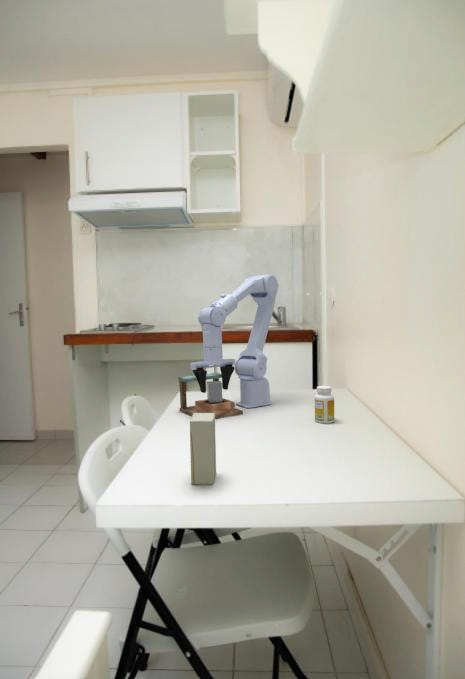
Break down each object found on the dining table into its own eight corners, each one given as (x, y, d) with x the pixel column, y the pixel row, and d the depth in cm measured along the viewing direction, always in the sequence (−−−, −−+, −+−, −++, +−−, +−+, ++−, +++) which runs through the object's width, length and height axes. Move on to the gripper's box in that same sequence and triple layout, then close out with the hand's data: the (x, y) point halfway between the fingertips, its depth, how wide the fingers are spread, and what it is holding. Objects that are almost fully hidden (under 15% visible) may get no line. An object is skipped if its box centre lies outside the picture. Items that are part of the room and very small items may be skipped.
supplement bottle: (333, 418, 125) (332, 385, 125) (335, 423, 120) (335, 388, 119) (314, 418, 126) (313, 385, 125) (315, 423, 121) (315, 388, 120)
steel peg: (220, 409, 137) (219, 380, 136) (222, 412, 133) (221, 382, 132) (207, 410, 136) (206, 381, 135) (209, 413, 132) (208, 383, 132)
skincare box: (195, 472, 87) (192, 412, 86) (217, 472, 87) (215, 412, 86) (190, 485, 81) (188, 420, 80) (214, 485, 81) (212, 420, 80)
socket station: (217, 405, 148) (216, 372, 147) (242, 414, 134) (241, 378, 133) (179, 411, 141) (178, 377, 140) (202, 421, 127) (200, 383, 126)
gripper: (226, 344, 140) (228, 386, 141) (185, 347, 133) (187, 391, 134) (238, 345, 134) (239, 389, 135) (195, 349, 127) (197, 395, 128)
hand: (214, 390), depth 134 cm, fingers open, 7 cm apart
